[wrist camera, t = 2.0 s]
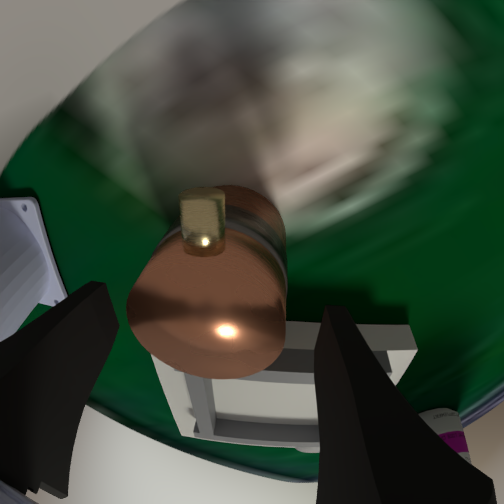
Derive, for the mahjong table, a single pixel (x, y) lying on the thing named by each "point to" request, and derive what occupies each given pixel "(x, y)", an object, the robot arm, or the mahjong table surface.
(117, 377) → the mahjong table surface
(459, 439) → the supplement can
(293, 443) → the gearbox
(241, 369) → the spout can
